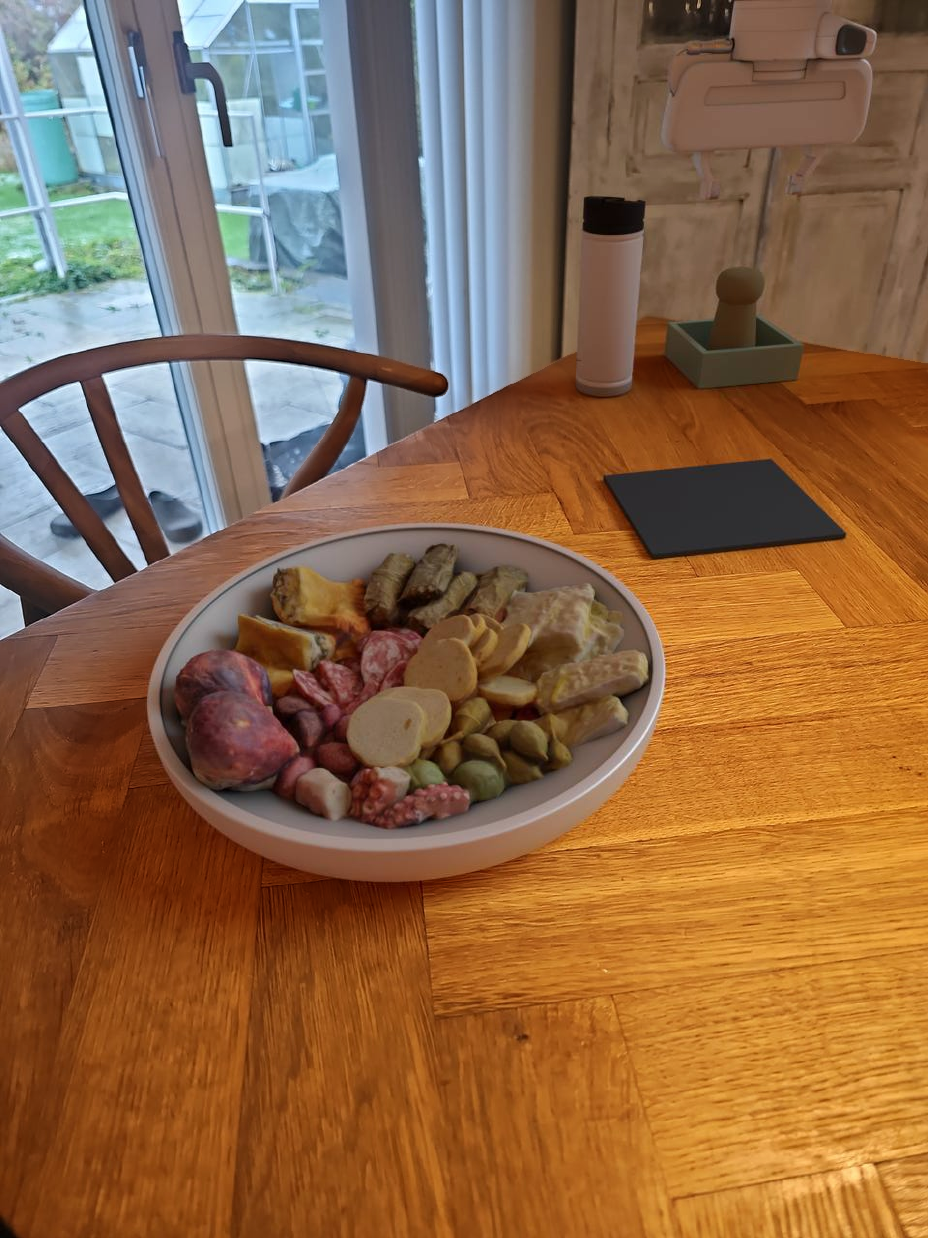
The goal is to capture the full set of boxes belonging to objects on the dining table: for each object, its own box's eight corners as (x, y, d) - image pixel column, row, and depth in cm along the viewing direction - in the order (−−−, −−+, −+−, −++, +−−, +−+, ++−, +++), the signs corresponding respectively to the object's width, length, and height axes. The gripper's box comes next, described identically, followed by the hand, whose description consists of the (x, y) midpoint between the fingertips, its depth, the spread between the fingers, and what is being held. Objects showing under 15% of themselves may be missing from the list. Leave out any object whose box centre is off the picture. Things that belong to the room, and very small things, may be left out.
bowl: (428, 537, 70) (422, 449, 66) (754, 701, 53) (776, 596, 48) (81, 716, 54) (40, 616, 49) (385, 1044, 36) (365, 935, 31)
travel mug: (562, 389, 96) (567, 194, 84) (599, 373, 99) (610, 184, 88) (605, 403, 92) (617, 201, 80) (642, 386, 96) (659, 190, 84)
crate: (754, 347, 105) (760, 314, 102) (797, 380, 96) (804, 344, 93) (664, 355, 104) (667, 321, 101) (698, 389, 94) (702, 353, 92)
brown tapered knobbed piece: (691, 368, 100) (703, 270, 93) (717, 354, 103) (731, 259, 97) (738, 380, 96) (754, 278, 90) (764, 365, 100) (781, 266, 93)
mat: (770, 463, 79) (771, 458, 79) (845, 538, 68) (847, 533, 67) (603, 480, 78) (603, 474, 77) (651, 559, 66) (652, 554, 66)
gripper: (683, 42, 77) (666, 207, 85) (894, 33, 79) (858, 196, 87) (660, 40, 82) (646, 196, 90) (859, 31, 84) (828, 185, 92)
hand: (752, 196), depth 89 cm, fingers open, 8 cm apart
